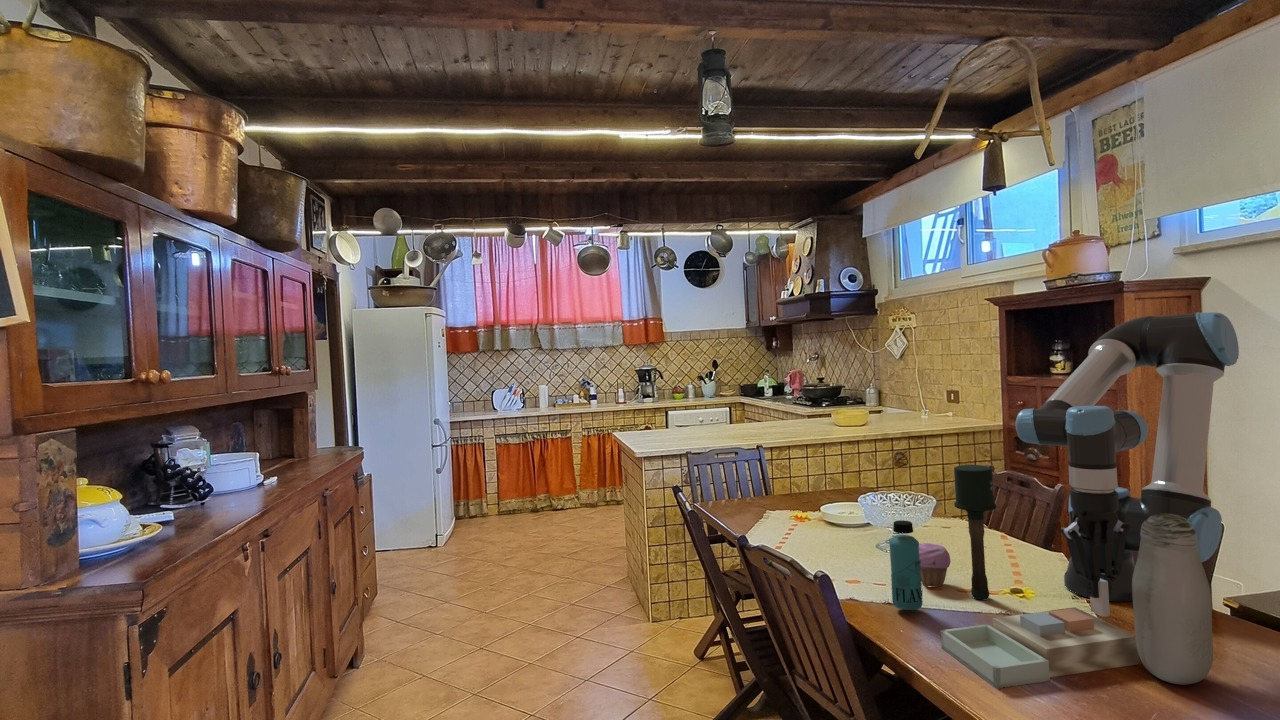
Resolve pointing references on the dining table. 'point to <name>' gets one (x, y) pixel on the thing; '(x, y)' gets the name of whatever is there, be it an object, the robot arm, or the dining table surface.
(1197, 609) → the grey tall rounded cylinder
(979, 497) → the potato masher grenade
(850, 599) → the dining table surface
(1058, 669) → the board
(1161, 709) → the dining table surface
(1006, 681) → the tray
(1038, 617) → the tile slate
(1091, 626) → the tile terracotta
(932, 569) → the cupcake
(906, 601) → the beverage bottle
